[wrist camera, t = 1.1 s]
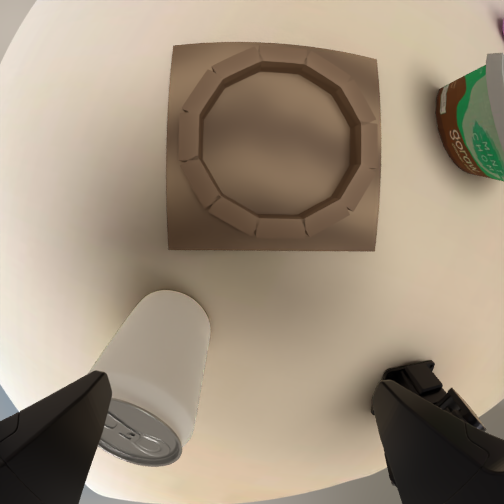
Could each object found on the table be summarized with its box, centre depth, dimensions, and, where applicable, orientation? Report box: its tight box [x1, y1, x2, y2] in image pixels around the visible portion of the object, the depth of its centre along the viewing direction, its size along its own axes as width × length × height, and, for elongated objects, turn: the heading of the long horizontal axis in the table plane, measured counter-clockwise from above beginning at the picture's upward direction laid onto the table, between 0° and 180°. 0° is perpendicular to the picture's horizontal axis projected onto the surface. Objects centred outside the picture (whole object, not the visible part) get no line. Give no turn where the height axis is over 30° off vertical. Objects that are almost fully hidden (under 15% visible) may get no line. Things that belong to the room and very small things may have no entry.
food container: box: [436, 53, 504, 181], centre depth 14 cm, size 12×6×10 cm, turn 57°
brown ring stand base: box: [166, 42, 381, 251], centre depth 17 cm, size 15×15×3 cm
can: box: [88, 290, 211, 467], centre depth 16 cm, size 6×6×12 cm
